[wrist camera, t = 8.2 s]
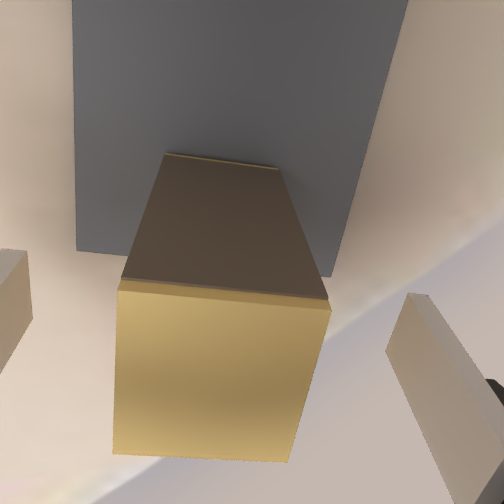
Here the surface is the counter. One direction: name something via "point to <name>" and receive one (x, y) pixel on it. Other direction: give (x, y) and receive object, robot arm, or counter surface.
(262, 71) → the mat
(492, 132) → the counter surface
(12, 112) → the counter surface
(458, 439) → the robot arm
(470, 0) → the counter surface
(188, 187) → the stub
